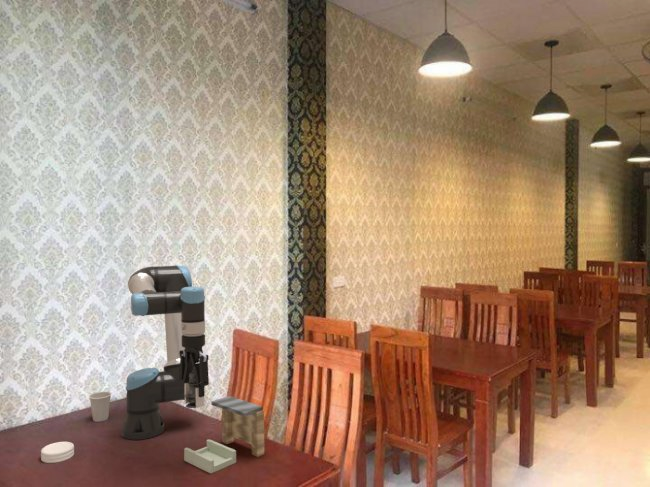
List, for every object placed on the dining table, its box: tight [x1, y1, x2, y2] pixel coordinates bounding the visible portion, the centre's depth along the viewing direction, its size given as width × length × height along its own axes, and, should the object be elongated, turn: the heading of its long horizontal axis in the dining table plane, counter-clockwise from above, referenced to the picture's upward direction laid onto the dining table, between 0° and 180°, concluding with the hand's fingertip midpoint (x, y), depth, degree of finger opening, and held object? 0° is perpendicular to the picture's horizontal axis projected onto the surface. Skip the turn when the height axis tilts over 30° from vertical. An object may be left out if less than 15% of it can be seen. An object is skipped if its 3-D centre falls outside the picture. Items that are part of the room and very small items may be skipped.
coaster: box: [40, 441, 75, 464], centre depth 176 cm, size 10×10×4 cm
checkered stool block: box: [211, 395, 265, 457], centre depth 180 cm, size 19×8×16 cm, turn 49°
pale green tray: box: [183, 438, 237, 475], centre depth 171 cm, size 14×10×4 cm
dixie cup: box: [88, 391, 112, 423], centre depth 210 cm, size 8×8×10 cm
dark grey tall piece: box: [185, 369, 198, 409], centre depth 170 cm, size 6×6×12 cm
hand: (194, 404), depth 170 cm, fingers closed on dark grey tall piece, 6 cm apart
